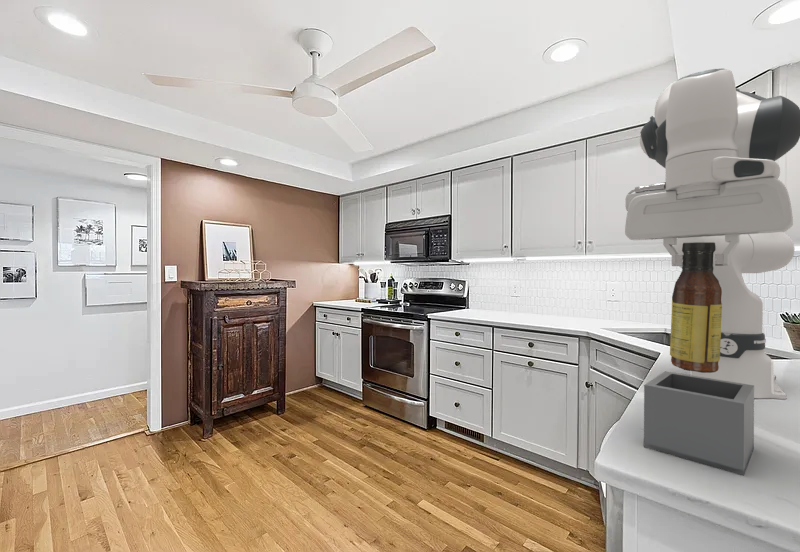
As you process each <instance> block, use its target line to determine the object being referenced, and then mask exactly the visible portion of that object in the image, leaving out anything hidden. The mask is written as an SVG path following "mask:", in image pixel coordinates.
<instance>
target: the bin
mask: <svg viewBox="0 0 800 552" xmlns="http://www.w3.org/2000/svg"><path fill="white" fill-rule="evenodd" d="M643 388H644V389H643V448H645V449H649V450H652V451H654V452H655V451H656V452H659V453H662V454H665V455H669V456H673V457H677V458H680V459H683V460H686V461H691V462H694V463H697V464H700V465H704V466H708V467H711V468H715V469H718V470H722V471H724V472H727V473H728V472H729V473H732V474H736V475H740V476H742V477H744V476H745V474H746V471H747V468H748V465H749V462H750V460H751V458H752V455H753V452H754V449H755V447H754V445H755V443H754V441H755V398H754V385H748V384H742V383H736V382H730V381H723V380H717V379H711V378H705V377H698V376H692V375H690V374H687V373H686V374H684V373H679V372H673V371H667V370H666V371H663V372H662V373H661V374H659V375H657V376H656V377H654V378H652V379H651V380H649V381H648V382H646V383H645V384H644V385H643Z"/></svg>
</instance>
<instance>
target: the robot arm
mask: <svg viewBox="0 0 800 552" xmlns="http://www.w3.org/2000/svg"><path fill="white" fill-rule="evenodd" d="M735 82H736V81H735V78H734V75H733V72H732V71H731V70H730V69H726V68H713V69H706V70H702V71H698V72H695V73H694V72H693V73H690V74H689V75H685V76H682V77H680V78H679V79H677V80H675V81H673V82H671V83H669V85H667V86H665V87H664V89H663V90H662V91H661V93H660V94H659V96H658V98H657V100H656V101H655V106H654V116H653V115H651V116H650V117H649V121H647V122H646V123H645V124H644V125H643V127H642V129H641V130H640V134H639V135H640V137H639V144H640V148H641V150H642V152H643V153H644V154H645V155H646V156H647V157H648V159H651V160H654V161H655V162H656V163H657V164H659V165H660V166H661V167H662V168H664V169H665V177H664V178H665V180H664V181H665V182H660V183H653V184H650V185H639V186H636V187H634V189H632V190H630V191H629V192H628V193H627V194H626V196H625V210H626V219H625V225H624V234H625V236H626V237H627V238H628V239H629V240H631V241H649V240H651V241H652V240H662V241H663V243H662V245H663V246H664V248H665V249H666V251H667V252H668V254H669V255H670V256H671V266H672V267H680V268H681V269H682V266H683V255H684V254H683V252H682V247H683V243H691V242H714V243H715V248H716V250H715V251H714V253H713V268H714V269H713V274H714V275H715V277H716V278H717V279H718V280H719V284H720V287H721V289H722V295H721V303H722V318H721V342H720V360H719V361H718V366H719V368H718V371H716V372H712V373H701V372H696V371H690V374H689V375H692V376H698V377H705V378H711V379H717V380H723V381H730V382H736V383H742V384H748V385H754V399H776V400H777V399H778V400H786V399H787V394H786V393H785V392H784V390H783V389H782V388H781V387H780V386H779V384H777V382H775V381H777V380H776V379H777V377H776V375H775V373H774V371H775V370H774V360H773V358H771V357H770V356H769V355H768V354H767V353H766V352H765V349H766V343H767V340H766V334H765V332H764V333H763V324H764V323H763V315H764V313H763V309H764V308H763V307H764V305H763V304H764V303H763V300H762V299H761V298H760V296H759V295H758V294H756V293H754V292H753V291H751V290H750V289H749V288H748V287H747V284H746V282H745V281H744V278H743V275H742V274H762V273H768V272H772V271H776V270H780V269H782V268H785V267H786V266H787V265H788V264H789V263H790V262H792V259H793V258H794V254H795V244H794V241H793V239H792V238H791V237H790V236H789V234H786V233H785V232H787V231H788V230H789V229H791V228H792V227H793V225H794V219H793V217H794V216H793V209H792V204H791V199H790V195H789V192H788V188H787V186H786V185H785V183H783V182H782V181H781V180H780V178H779V177H780V175H781V167H780V165H779V164H778V162H776V161H777V160H779V159H780V158H782V157H784V156H785V155H786V154H787V153H789V152H790V151H791V150H792V149H794V147H795V146H796V145H797V143H799V140H800V107H799V105H797V103H795V102H794V101H793V100H791V99H789V98H787V97H785V96H783V95H777V96H773V97H767V98H766V97H763V96H761V95H758V94H754V93H752V92H748V91H742V90H740V89H739V88H737V86H736V83H735Z"/></svg>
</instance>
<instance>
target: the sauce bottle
mask: <svg viewBox="0 0 800 552" xmlns="http://www.w3.org/2000/svg"><path fill="white" fill-rule="evenodd" d="M715 250H716V248H715V243H714V242H691V243H683V247H682V252H683V254H684V255H683V266H682V268H681V272H680V274H679V276H678V278H677V279H676V281H675V283H674V287H673V290H672V291H673V292H672V296H671V321H670V323H671V324H670V340H669V341H670V342H669V343H670V345H669V346H670V347H669V355H670V356H671V357H670V362H671V364H672V365H673V366H674V367H675V368H676V367H677V368H679V369H681V370H683V371H689V372H691V371H696V372H701V373H712V372H716V371H718V368H719V366H718V361H719V360H720V342H721V318H722V303H721V295H722V289H721V287H720V284H719V280H718V279H717V278H716V277H715V275H714V274H713V269H714V268H713V253H714V251H715Z"/></svg>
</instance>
